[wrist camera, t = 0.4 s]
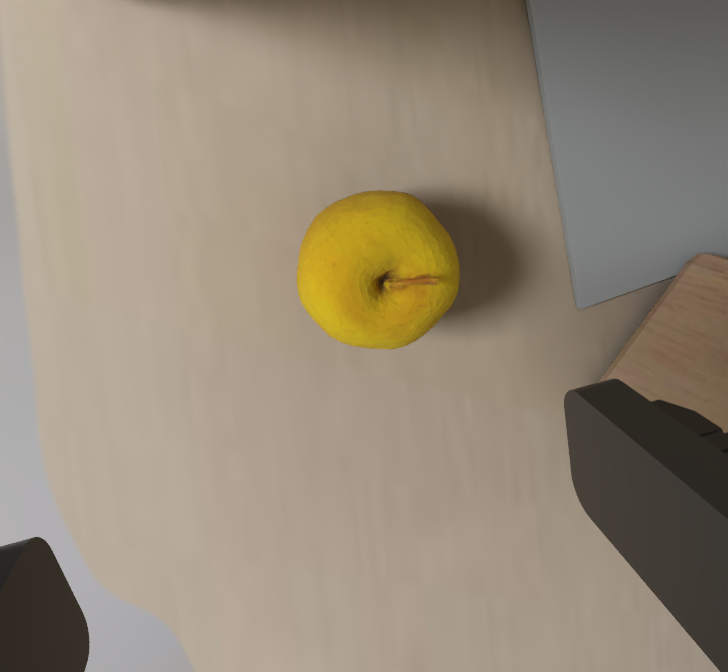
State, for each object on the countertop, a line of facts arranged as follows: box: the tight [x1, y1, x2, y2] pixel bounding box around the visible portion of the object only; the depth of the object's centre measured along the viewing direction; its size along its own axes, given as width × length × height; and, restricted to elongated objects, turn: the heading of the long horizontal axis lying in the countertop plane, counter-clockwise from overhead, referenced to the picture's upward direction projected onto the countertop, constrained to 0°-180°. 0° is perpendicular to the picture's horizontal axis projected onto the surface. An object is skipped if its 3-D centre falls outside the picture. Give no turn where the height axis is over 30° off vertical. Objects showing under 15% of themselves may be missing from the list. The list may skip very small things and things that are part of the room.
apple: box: [297, 191, 460, 349], centre depth 25 cm, size 6×6×8 cm
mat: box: [526, 0, 728, 309], centre depth 29 cm, size 15×16×1 cm
